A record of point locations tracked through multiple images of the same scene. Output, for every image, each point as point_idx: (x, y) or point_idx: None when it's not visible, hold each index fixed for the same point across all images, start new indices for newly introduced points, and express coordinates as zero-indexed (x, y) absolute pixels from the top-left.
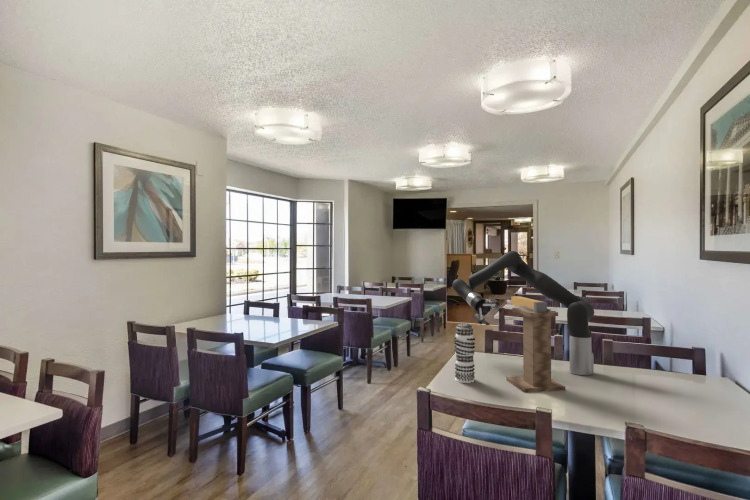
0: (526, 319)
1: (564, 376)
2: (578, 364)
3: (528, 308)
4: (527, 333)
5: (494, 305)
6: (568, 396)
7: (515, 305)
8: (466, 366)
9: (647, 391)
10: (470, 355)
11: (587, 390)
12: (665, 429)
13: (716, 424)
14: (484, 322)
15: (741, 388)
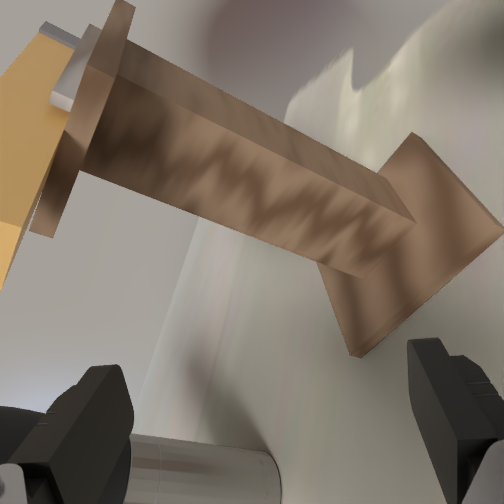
0: (148, 74)
1: (304, 419)
2: (233, 449)
3: (81, 46)
4: (218, 107)
5: (4, 475)
6: None
7: (37, 173)
8: None
9: (205, 353)
10: None
11: (281, 288)
12: None
13: (203, 232)
14: (479, 392)
15: None
